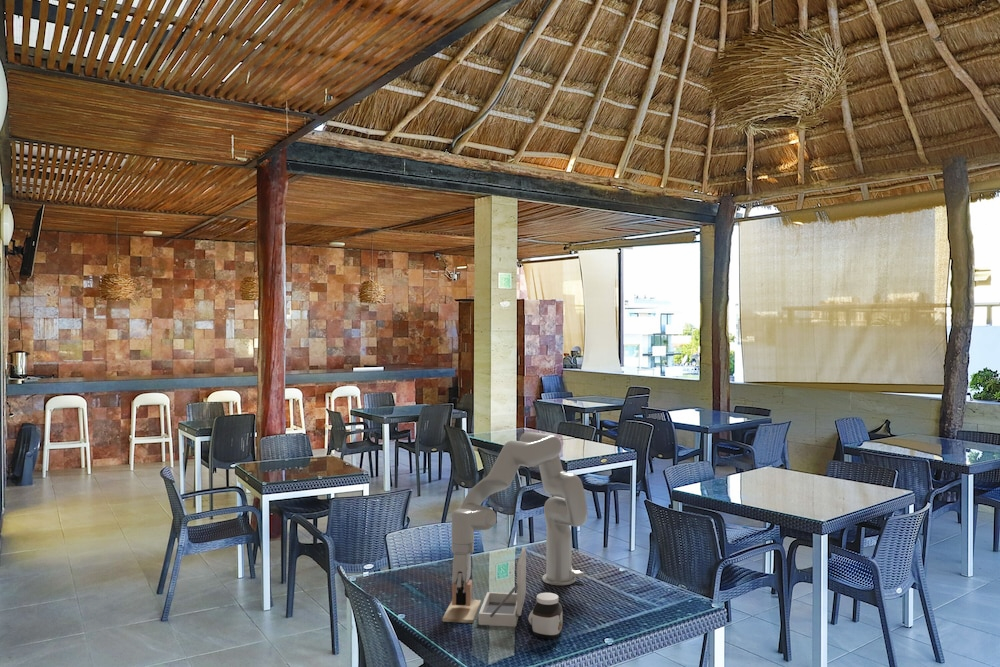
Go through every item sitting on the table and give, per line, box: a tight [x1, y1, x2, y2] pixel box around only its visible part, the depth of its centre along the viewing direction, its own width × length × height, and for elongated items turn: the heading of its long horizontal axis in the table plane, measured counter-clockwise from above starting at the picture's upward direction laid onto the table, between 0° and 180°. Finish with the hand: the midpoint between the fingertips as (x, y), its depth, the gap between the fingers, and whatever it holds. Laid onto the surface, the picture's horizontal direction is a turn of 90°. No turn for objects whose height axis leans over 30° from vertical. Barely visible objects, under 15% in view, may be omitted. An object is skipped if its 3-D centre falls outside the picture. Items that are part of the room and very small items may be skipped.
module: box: [451, 579, 473, 606], centre depth 236 cm, size 6×5×7 cm
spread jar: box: [528, 592, 563, 640], centre depth 220 cm, size 12×11×12 cm
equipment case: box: [478, 546, 527, 627], centre depth 234 cm, size 14×21×20 cm, turn 173°
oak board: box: [441, 599, 482, 624], centre depth 236 cm, size 10×18×1 cm, turn 173°
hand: (462, 601), depth 236 cm, fingers closed on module, 5 cm apart
